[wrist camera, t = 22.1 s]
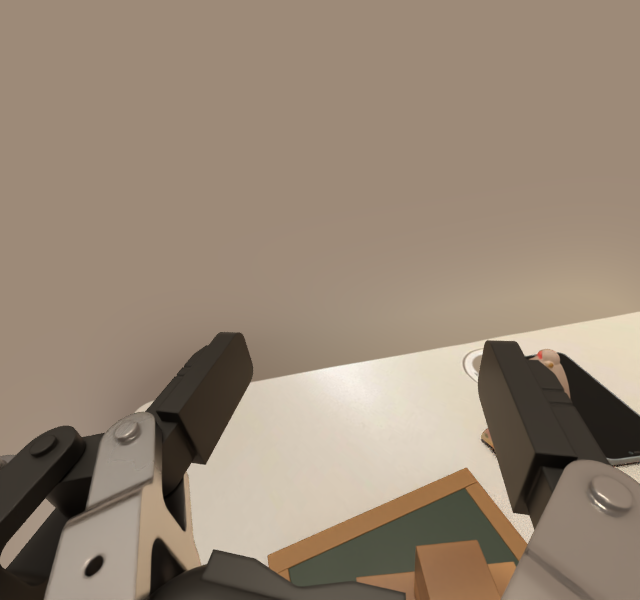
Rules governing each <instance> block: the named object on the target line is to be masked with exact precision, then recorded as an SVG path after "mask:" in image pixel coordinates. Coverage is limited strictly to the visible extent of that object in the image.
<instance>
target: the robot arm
mask: <svg viewBox="0 0 640 600" xmlns="http://www.w3.org/2000/svg"><path fill="white" fill-rule="evenodd" d="M252 375H253V365H252V361H251V358H250V355H249V351H248V348H247V345H246V342H245V339H244V336H243V335H242V334H241V333H233V332H232V333H231V332H220V333H218V334H217V335H216V337H215V338H214V339H213V340H212V342H211V343H210V344H209V345H208V346H205V347H203V348H202V349H201V350H199V351H198V352H196V353H195V354H194V355H193V356H192V357H191V358H190V359H189V360H188V362H187V363H186V364H185V366H184V368H182V369H181V370H180V371H179V372H178V373H177V376H176V377H174V378H173V379H172V381H171V382H170V383H169V384H168V385H167V387H166V388H165V389H164V390H163V391H162V393H161V394H160V395H159V396H158V397H157V398H156V400H155V401H154V402H153V403H152V404H151V406H150V407H149V408H148V409H147V410H146V411H145V412H138V413H134V414H131V415H128V416H126V417H124V418H123V419H121V420H119V421H118V422H116V423H115V424H114V425H112V426H111V427H110V428H109V429H108V430H107V432H106V433H102V434H96V435H92V436H86V437H81V436H80V435H79V433H78V432H77V431H76V430H75V429H74V428H73V427H71V426H60V427H57V428H54V429H51V430H49V431H47V432H45V433H43V434H41V435H40V436H38V437H37V438H35V439H34V440H32V441H31V442H30V443H29V444H28V445H26V446H25V447H24V448H23V449H22V450H21V451H20V452H19V453H18V454H17V455H16V456H15V457H14V458H13V459H12V460H10V461H9V462H8V463H7V462H6V461H5V460H2V459H1V458H0V555H1V552H2V550H3V548H4V547H5V545H6V543H7V542H8V541H9V540H10V539H11V537H12V536H13V535H14V534H15V533H16V531H17V530H18V529H19V528H20V527H21V526H22V525H23V523H24V522H25V521H26V520H27V519H28V518H29V516H30V515H31V514H32V513H33V512H34V511H35V509H36V508H37V507H38V506H39V505H40V504H41V502H42V501H43V500H44V499H45V498H46V499H47V500H48V501H49V502H50V503H51V504H52V505H54V506H55V507H56V508H55V510H54V511H53V512H52V513H51V514H50V516H49V517H48V518H47V519H46V521H45V522H44V523H43V524H42V526H41V527H40V528H39V529H38V531H37V532H36V533H35V534H34V535H33V537H32V538H31V539H30V540H29V542H28V543H27V544H26V545H25V546H24V548H23V549H22V550H21V551H20V553H19V554H18V555H17V556H16V558H15V559H14V560H13V561H12V562H11V564H10V565H9V566H8V567H7V568H6V569H4V568H2V566H1V565H0V600H406V593H404V592H400V591H396V590H391V589H387V588H382V587H378V586H374V585H369V584H365V583H360V582H356V581H346V582H337V583H329V584H320V585H312V586H297V585H295V584H293V583H291V582H290V581H288V580H287V579H285V578H284V577H282V576H281V575H279V574H278V573H276V572H275V571H273V570H272V569H270V568H269V567H267V566H265V565H264V564H262V563H261V562H259V561H258V560H256V559H254V558H250V557H245V556H241V555H236V554H232V553H228V552H223V551H219V550H214V549H213V552H212V554H211V556H210V559H209V561H208V563H207V564H206V565H202V566H201V562H200V558H199V554H198V551H197V548H196V545H195V542H194V537H193V527H192V514H191V501H190V488H189V477H188V474H187V472H186V471H187V469H188V467H189V466H190V464H191V463H197V464H204V465H206V463H207V461H208V459H209V457H210V455H211V454H212V452H213V450H214V448H215V446H216V444H217V443H218V441H219V439H220V437H221V435H222V433H223V432H224V430H225V428H226V426H227V424H228V422H229V420H230V419H231V417H232V415H233V413H234V411H235V409H236V408H237V406H238V404H239V402H240V400H241V398H242V397H243V395H244V393H245V391H246V389H247V387H248V386H249V384H250V382H251V379H252ZM478 392H479V398H480V402H481V405H482V408H483V412H484V415H485V419H486V422H487V425H488V429H489V432H490V436H491V439H492V442H493V446H494V449H495V453H496V456H497V459H498V463H499V466H500V470H501V473H502V477H503V480H504V483H505V487H506V490H507V494H508V497H509V500H510V504H511V507H512V511H513V513H518V514H525V515H530V518H531V521H532V524H533V527H534V532H533V534H532V537H531V539H530V541H529V543H528V545H527V547H526V549H525V551H524V553H523V555H522V557H521V559H520V561H519V563H518V565H517V567H516V569H515V571H514V573H513V575H512V577H511V579H510V581H509V583H508V585H507V587H506V589H505V591H504V594H503V596H502V598H501V600H640V484H639V483H638V482H637V481H636V480H634V479H633V478H631V477H630V476H629V475H627V474H626V473H624V472H622V471H620V470H619V469H616V468H614V467H612V466H611V464H610V463H609V461H608V460H607V458H606V457H605V455H604V453H603V452H602V450H601V448H600V447H599V445H598V444H597V442H596V440H595V439H594V437H593V435H592V434H591V432H590V430H589V429H588V427H587V426H586V424H585V422H584V421H583V419H582V417H581V416H580V414H579V412H578V411H577V409H576V408H575V406H573V403H572V401H571V399H570V398H569V396H568V394H567V393H565V392H564V388H563V386H562V385H561V383H560V381H559V380H558V378H557V376H556V375H555V373H553V372H552V371H551V370H550V369H549V368H547V367H546V366H545V365H544V364H542V363H541V362H540V361H539V360H527V359H526V358H525V356H524V354H523V352H522V350H521V348H520V346H519V345H518V343H517V342H515V341H488V340H487V341H486V342H485V345H484V350H483V355H482V360H481V366H480V371H479V377H478Z"/></svg>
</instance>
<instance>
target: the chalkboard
mask: <svg viewBox="0 0 640 600" xmlns="http://www.w3.org/2000/svg"><path fill="white" fill-rule="evenodd" d="M469 540H477V541H478V543H479V545H480V548H481V550H482V553H483V555H484V557H485V560H486V562H487V564H494V563H504V562H514V564H515V566H516V567H517V565H518V563H519V561H520V559H521V557H522V555H523V553H524V551H525V549H526V547H527V545H528V544H527V543H526V542H525V541H524V539H523V538H522V537H521V535H520V534H519V533H518V532H517V530H516V529H515V528H514V527H513V525H512V524H511V523H510V522H509V520H508V519H507V518H506V517H505V515H504V514H503V513H502V511H501V510H500V509H499V508H498V506H497V505H496V504H495V503H494V501H493V500H492V499H491V498H490V496H489V495H488V494H487V493H486V491H485V490H484V489H483V487H482V486H481V485H480V484H479V482H478V481H477V480H476V479H475V477H474V476H473V475H472V474H471V472H470V471H469V470H468V468H464V469H462V470H460V471H457V472H455V473H453V474H451V475H448V476H446V477H444V478H442V479H439V480H437V481H435V482H433V483H430V484H428V485H426V486H424V487H421V488H419V489H417V490H414V491H412V492H410V493H408V494H405V495H403V496H401V497H399V498H396V499H394V500H392V501H390V502H387V503H385V504H383V505H381V506H378V507H376V508H374V509H372V510H369V511H367V512H365V513H362V514H360V515H358V516H356V517H353V518H351V519H349V520H347V521H344V522H342V523H340V524H338V525H335V526H333V527H331V528H329V529H326V530H324V531H322V532H320V533H317V534H315V535H313V536H311V537H308V538H306V539H304V540H301V541H299V542H297V543H295V544H292V545H290V546H288V547H286V548H283V549H281V550H279V551H277V552H274V553H272V554H270V555H268V564H269V568H270V569H272V570H273V571H275V572H276V573H278V574H279V575H281V576H282V577H284V578H285V579H287V580H288V581H290V582H291V583H293V584H295V585H297V586H312V585H320V584H329V583H337V582H346V581H356V582H357V580H356V578H357V577H364V576H374V575H384V574H394V573H404V572H414V571H415V553H416V546H420V545H430V544H440V543H449V542H459V541H469Z"/></svg>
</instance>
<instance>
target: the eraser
mask: <svg viewBox="0 0 640 600" xmlns="http://www.w3.org/2000/svg"><path fill="white" fill-rule="evenodd" d="M515 569H516V566H515V564H514V562H504V563H494V564H487V562H486V560H485V557H484V555H483V553H482V550H481V548H480V545H479V543H478V541H477V540H469V541H459V542H449V543H440V544H430V545H420V546H416V553H415V571H414V572H404V573H394V574H384V575H374V576H364V577H357V578H356V580H357V582H360V583H365V584H369V585H374V586H378V587H382V588H387V589H391V590H396V591H400V592H404V593H406V600H501V598H502V596H503V594H504V591H505V589H506V587H507V585H508V583H509V581H510V579H511V577H512V575H513V573H514V571H515Z"/></svg>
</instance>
